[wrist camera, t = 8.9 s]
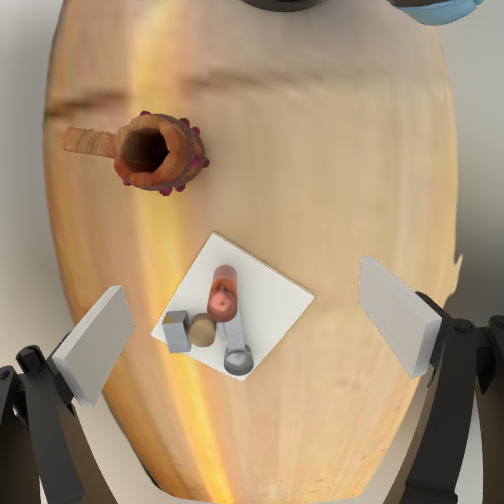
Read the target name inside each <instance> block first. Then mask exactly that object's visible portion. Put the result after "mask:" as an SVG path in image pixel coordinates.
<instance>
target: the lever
mask: <svg viewBox="0 0 504 504" xmlns="http://www.w3.org/2000/svg"><path fill="white" fill-rule="evenodd" d="M207 313H208V315H209V316H210V317H211V318H212V319H213V320H215V321H217V326H218V331H219V336H220V341H227V346H228V349H227V350H226V352H225V354H224V368H225V370H226V371H227V372H228V373H229V374H232V375H235V376H243V375H246V374H248V373H249V372H251V371H252V369H253V367H254V361H253V354H252V352H251V350H250V349H248V348H247V347H245V343H244V336H243V329H242V322H241V314H240V307H239V299H238V292H237V272H236V270H235V269H234V268H233V267H232V266H230V265H221V266H219V267H217V268H216V269H215V271H214V274H213V279H212V284H211V289H210V294H209V299H208V304H207Z"/></svg>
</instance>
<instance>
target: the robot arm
mask: <svg viewBox="0 0 504 504" xmlns="http://www.w3.org/2000/svg"><path fill="white" fill-rule="evenodd" d="M242 1H244V2H246V3H248V4H250V5H252V6H255V7H258V8H262V9H266V10H271V11H279V12H292V11H299V10H304V9H307V8H309V7H312V6H314V5H315V4H317V3H318V2H319V1H320V0H242ZM387 1H388V2H390V4H391V5H392V6H393V7H395V8H397V9H400V10H402V11H403V12H405V13H406V14H407V15H409V16H410V17H412V18H413V19H414V20H416V21H417V22H419V23H421V24H424V25H431V26H438V25H444V24H448V23H451V22H453V21H456V20H458V19H460V18H462V17H464V16H466V15H468V14H469V13H471V12H472V11H474V10H475V9H476V5H479V4H481V3H482V1H483V0H387ZM358 303H359V304H360V306H361V307H362V308H363V310H364V311H365V312H366V314H367V315H368V317H369V318H370V319H371V321H372V322H373V324H374V325H375V326H376V328H377V329H378V331H379V332H380V334H381V335H382V336H383V338H384V339H385V341H386V342H387V344H388V345H389V347H390V348H391V349H392V351H393V352H394V354H395V355H396V357H397V358H398V360H399V361H400V363H401V364H402V366H403V367H404V369H405V370H406V372H407V373H408V375H409V376H410V378H411V379H412V378H415V377H418V376H421V375H423V374H426V372H427V369H428V366H429V363H430V364H431V365H432V366H433V367H434V370H433V373H432V376H431V379H430V381H429V384H428V386H427V387H429V389H428V392H427V396H426V400H425V403H424V406H423V409H422V412H421V415H420V419H419V422H418V425H417V427H416V430H415V433H414V436H413V439H412V441H411V444H410V446H409V449H408V452H407V454H406V457H405V459H404V461H403V463H402V466H401V468H400V470H399V472H398V475H397V477H396V479H395V481H394V483H393V485H392V487H391V489H390V491H389V493H388V495H387V497H386V499H385V501H384V503H383V504H457V502H458V496H457V495H456V494H455V491H454V490H455V486H456V483H457V479H458V476H459V472H460V469H461V465H462V461H463V457H464V453H465V448H466V443H467V439H468V433H469V428H470V422H471V415H472V408H473V400H474V390H475V394H476V400H477V406H478V413H479V419H480V429H481V438H482V453H483V502H482V504H504V316H502V315H501V316H500V315H496V316H492V317H491V318H490V320H489V323H488V326H487V327H480V328H476V327H475V325H474V324H473V323H471V322H470V321H468V320H465V319H453V318H452V317H450V316H449V315H448V314H447V313H446V312H445V311H444V310H443V309H442V308H441V307H440V306H438V305H437V304H436V303H435V302H433V300H432V299H431V298H430V297H428V296H427V295H425V294H423V293H421V292H419V291H417V292H413V291H412V290H411V289H410V288H409V287H408V286H407V285H406V284H405V283H403V282H402V281H401V280H400V279H399V278H398V277H397V276H395V275H394V274H393V273H392V272H391V271H390V270H389V269H387V268H386V267H385V266H384V265H383V264H382V263H380V262H379V261H378V260H377V259H376V258H374V257H373V256H370V257H362V258H360V280H359V299H358ZM134 328H135V324H134V321H133V318H132V315H131V312H130V309H129V306H128V303H127V300H126V297H125V294H124V290H123V287H122V285H119V286H110V288H109V289H108V290H107V291H106V292H105V293H104V294H103V295H102V297H101V298H100V299H99V300H98V301H97V302H96V303H95V304H94V306H93V307H92V308H91V309H90V310H89V311H88V313H87V314H86V315H85V316H84V317H83V318H82V320H81V321H80V322H79V323H78V324H77V326H76V327H75V328H74V329H73V330H72V331H71V332H69V333H68V334H67V335H66V336H65V337H64V338H63V340H62V342H60V343H59V345H58V347H56V348H55V350H54V351H53V352H52V353H51V355H50V356H49V357H48V358H47V360H45V358H44V356H43V354H42V352H41V350H40V348H39V347H38V346H37V345H30V346H27V347H25V348H23V349H22V350H21V351H19V353H18V354H17V355H16V360H17V362H18V363H19V365H20V367H21V369H22V370H23V372H24V373H23V374H17V373H16V371H15V369H14V368H13V366H4V367H1V368H0V504H41V498H40V481H39V475H40V479H41V483H42V486H43V489H44V493H45V496H46V499H47V502H48V504H118V503H117V501H116V499H115V498H114V496H113V494H112V492H111V491H110V489H109V487H108V485H107V483H106V481H105V479H104V477H103V475H102V473H101V471H100V469H99V467H98V465H97V463H96V461H95V459H94V456H93V454H92V452H91V450H90V447H89V444H88V442H87V440H86V437H85V435H84V432H83V429H82V427H81V424H80V421H79V418H78V416H77V413H76V410H75V407H74V406H73V404H72V403H71V401H72V399H73V397H75V398H76V400H77V401H78V403H79V404H80V405H81V406H87V407H94V405H95V403H96V401H97V399H98V397H99V395H100V393H101V391H102V389H103V387H104V385H105V383H106V381H107V379H108V377H109V375H110V373H111V371H112V369H113V367H114V365H115V364H116V362H117V360H118V358H119V356H120V354H121V352H122V350H123V348H124V347H125V345H126V343H127V341H128V339H129V337H130V336H131V334H132V332H133V330H134ZM13 408H14V409H15V411H16V412H17V414H16V415H15V414H14V411H13Z"/></svg>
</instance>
